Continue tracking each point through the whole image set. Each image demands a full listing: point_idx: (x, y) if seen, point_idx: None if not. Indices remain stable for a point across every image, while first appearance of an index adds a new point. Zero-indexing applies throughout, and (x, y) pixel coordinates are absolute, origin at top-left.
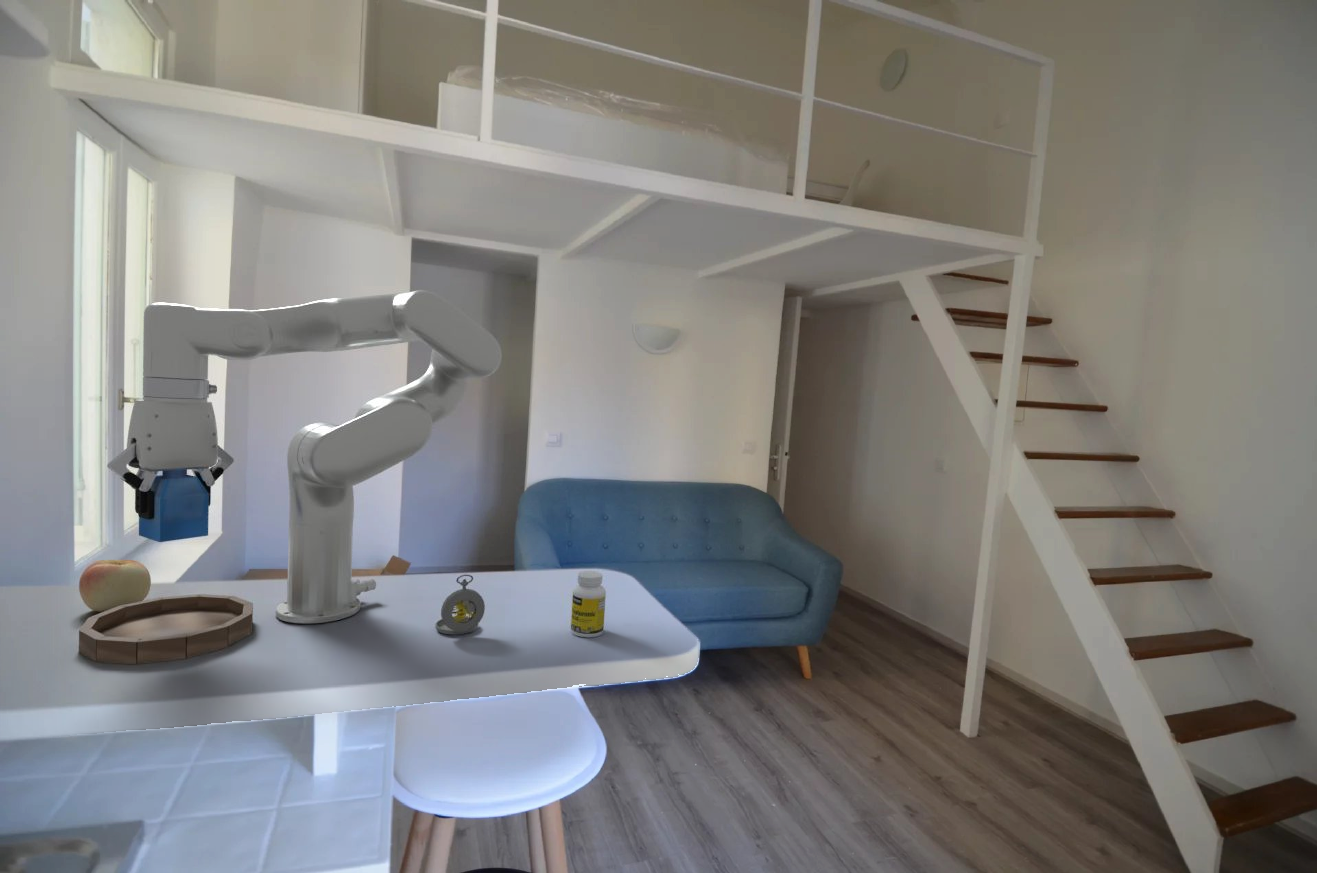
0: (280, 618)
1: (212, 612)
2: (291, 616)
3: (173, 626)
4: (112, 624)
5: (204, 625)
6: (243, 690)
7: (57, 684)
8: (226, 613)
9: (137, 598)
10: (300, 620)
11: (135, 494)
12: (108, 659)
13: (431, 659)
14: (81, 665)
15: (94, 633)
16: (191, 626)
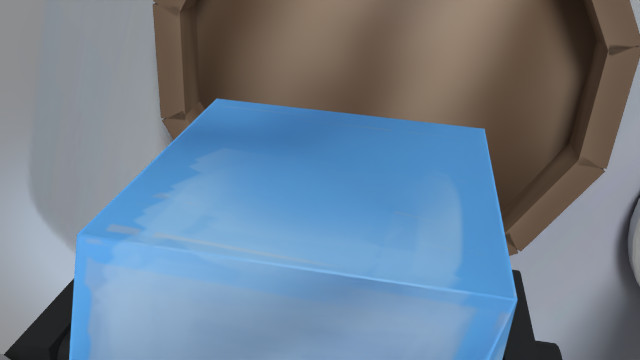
0: (636, 209)
1: (555, 17)
2: (635, 259)
3: (397, 53)
4: None
5: (452, 118)
6: None
7: (99, 158)
8: (569, 67)
9: None
10: (636, 280)
11: (11, 349)
12: None
13: None
14: (158, 92)
15: (172, 68)
16: (426, 97)
